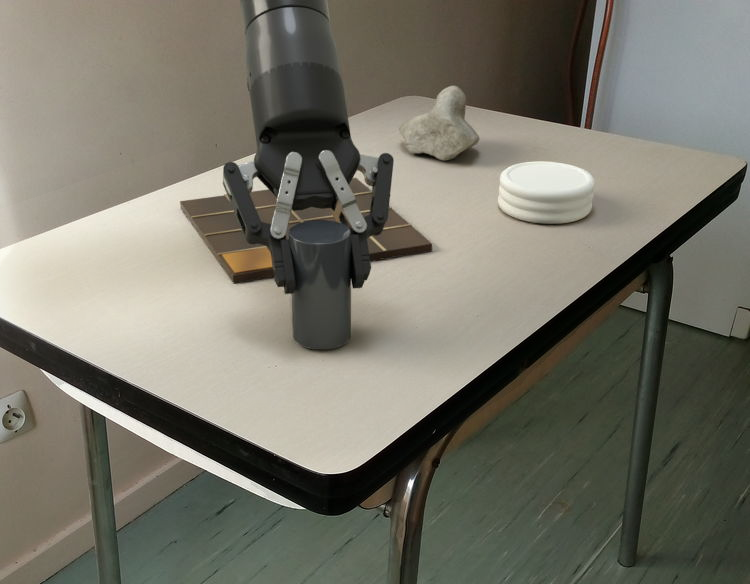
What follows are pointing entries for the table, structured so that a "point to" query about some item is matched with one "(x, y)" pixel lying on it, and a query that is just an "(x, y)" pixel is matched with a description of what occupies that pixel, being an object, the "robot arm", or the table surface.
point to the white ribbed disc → (546, 192)
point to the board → (255, 259)
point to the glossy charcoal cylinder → (321, 283)
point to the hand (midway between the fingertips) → (325, 286)
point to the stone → (441, 127)
